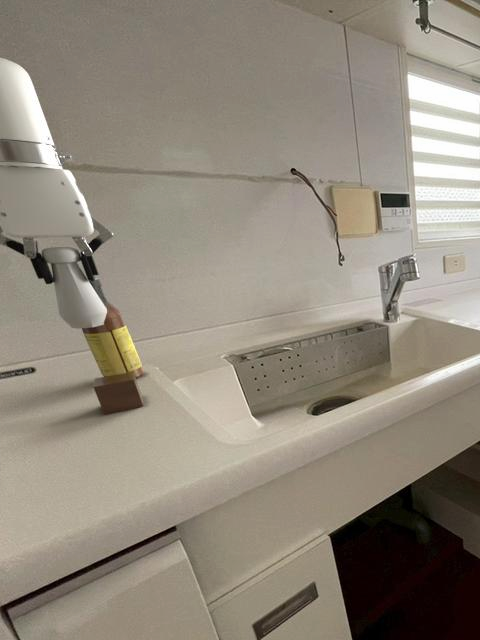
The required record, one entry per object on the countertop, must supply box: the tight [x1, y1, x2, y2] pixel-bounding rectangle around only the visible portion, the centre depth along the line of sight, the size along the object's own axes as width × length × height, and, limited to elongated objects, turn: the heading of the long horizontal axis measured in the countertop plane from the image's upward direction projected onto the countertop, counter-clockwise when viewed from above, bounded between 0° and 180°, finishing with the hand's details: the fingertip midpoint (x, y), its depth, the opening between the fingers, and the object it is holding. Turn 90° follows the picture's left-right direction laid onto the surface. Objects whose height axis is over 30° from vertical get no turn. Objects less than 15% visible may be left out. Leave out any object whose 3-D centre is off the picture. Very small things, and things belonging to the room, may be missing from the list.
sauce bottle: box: [81, 277, 144, 379], centre depth 78 cm, size 6×6×20 cm
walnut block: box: [93, 372, 144, 415], centre depth 69 cm, size 5×5×5 cm
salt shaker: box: [40, 246, 107, 330], centre depth 67 cm, size 6×6×13 cm
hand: (71, 280), depth 67 cm, fingers closed on salt shaker, 4 cm apart
